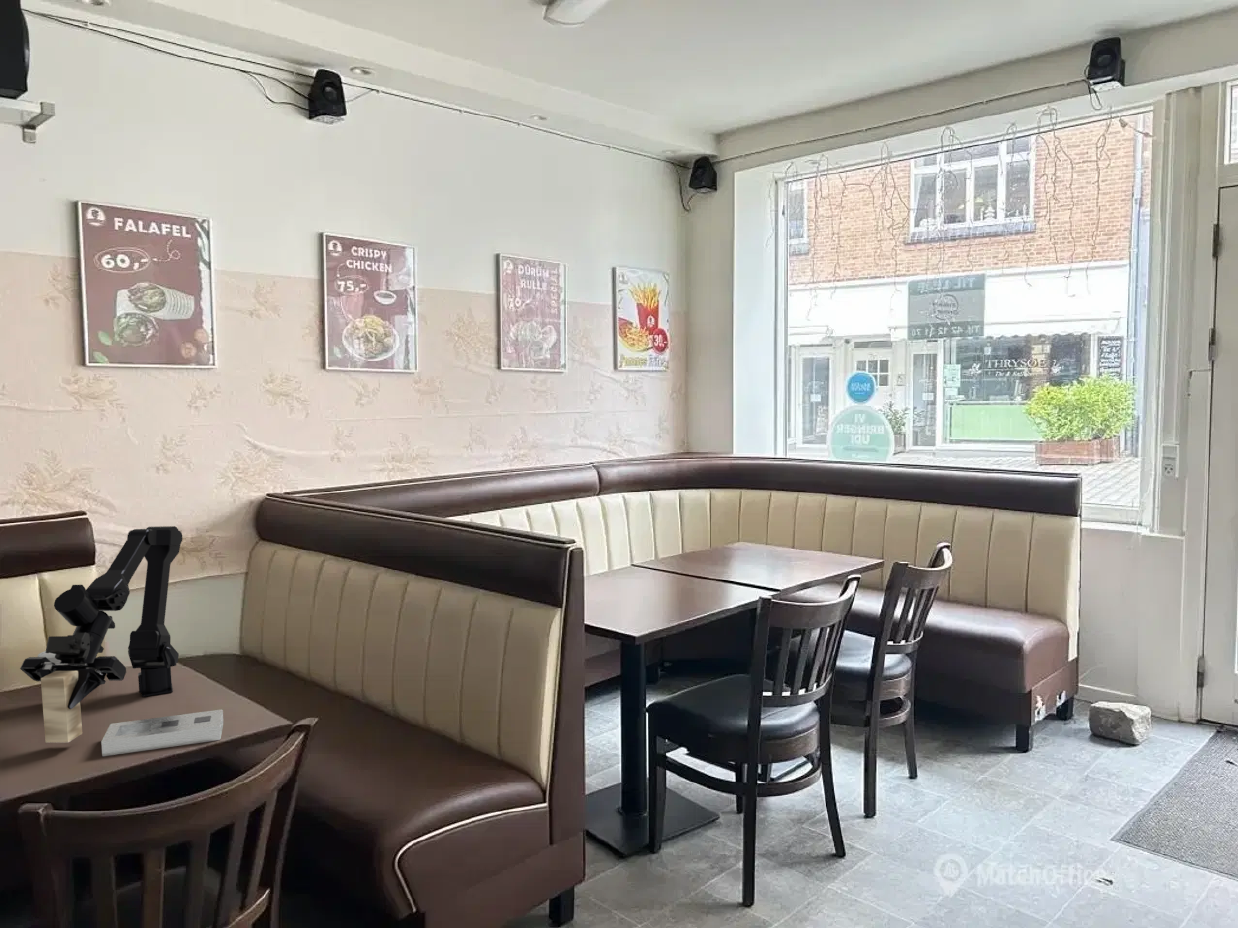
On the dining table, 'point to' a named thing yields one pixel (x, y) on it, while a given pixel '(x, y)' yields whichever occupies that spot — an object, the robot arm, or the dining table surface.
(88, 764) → the dining table surface
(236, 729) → the dining table surface
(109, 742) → the white flat block
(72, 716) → the beech peg
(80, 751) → the dining table surface
